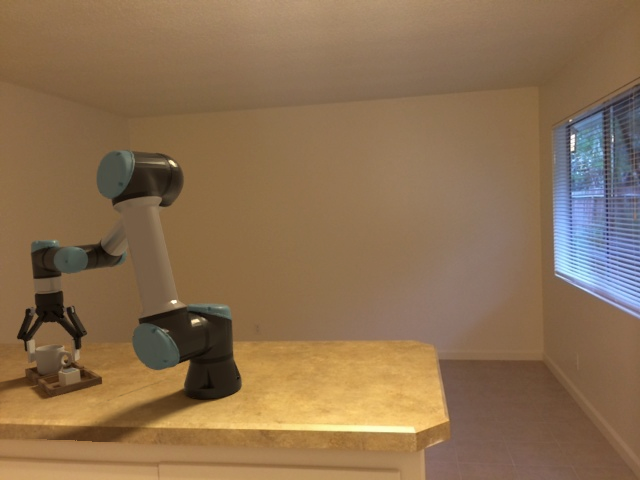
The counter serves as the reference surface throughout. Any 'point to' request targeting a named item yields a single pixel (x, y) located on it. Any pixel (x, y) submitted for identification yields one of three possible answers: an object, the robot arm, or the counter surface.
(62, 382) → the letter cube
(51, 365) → the cup
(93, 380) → the tray
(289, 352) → the counter surface
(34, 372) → the tray
